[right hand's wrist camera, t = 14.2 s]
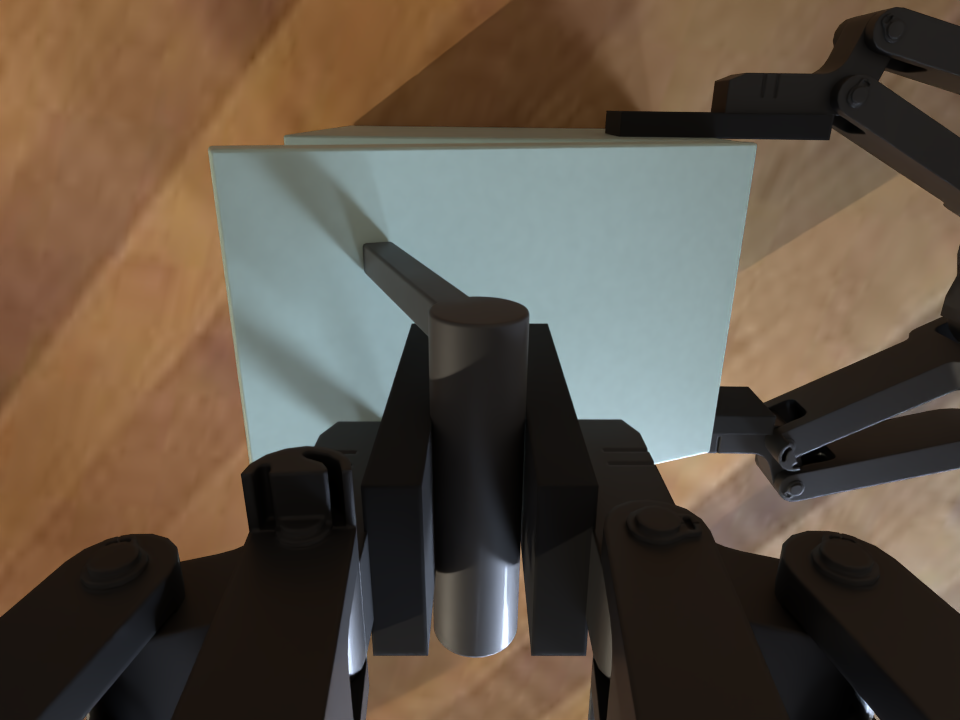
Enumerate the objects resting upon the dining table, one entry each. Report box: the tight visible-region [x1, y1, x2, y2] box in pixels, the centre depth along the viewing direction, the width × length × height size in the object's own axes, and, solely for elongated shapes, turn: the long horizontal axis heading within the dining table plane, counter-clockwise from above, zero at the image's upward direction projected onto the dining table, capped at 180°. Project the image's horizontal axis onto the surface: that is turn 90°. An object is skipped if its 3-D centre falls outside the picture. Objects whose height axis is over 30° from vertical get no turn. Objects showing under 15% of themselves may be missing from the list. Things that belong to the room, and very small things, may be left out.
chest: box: [284, 126, 731, 145], centre depth 25 cm, size 13×10×10 cm
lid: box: [208, 141, 757, 657], centre depth 15 cm, size 14×10×8 cm
